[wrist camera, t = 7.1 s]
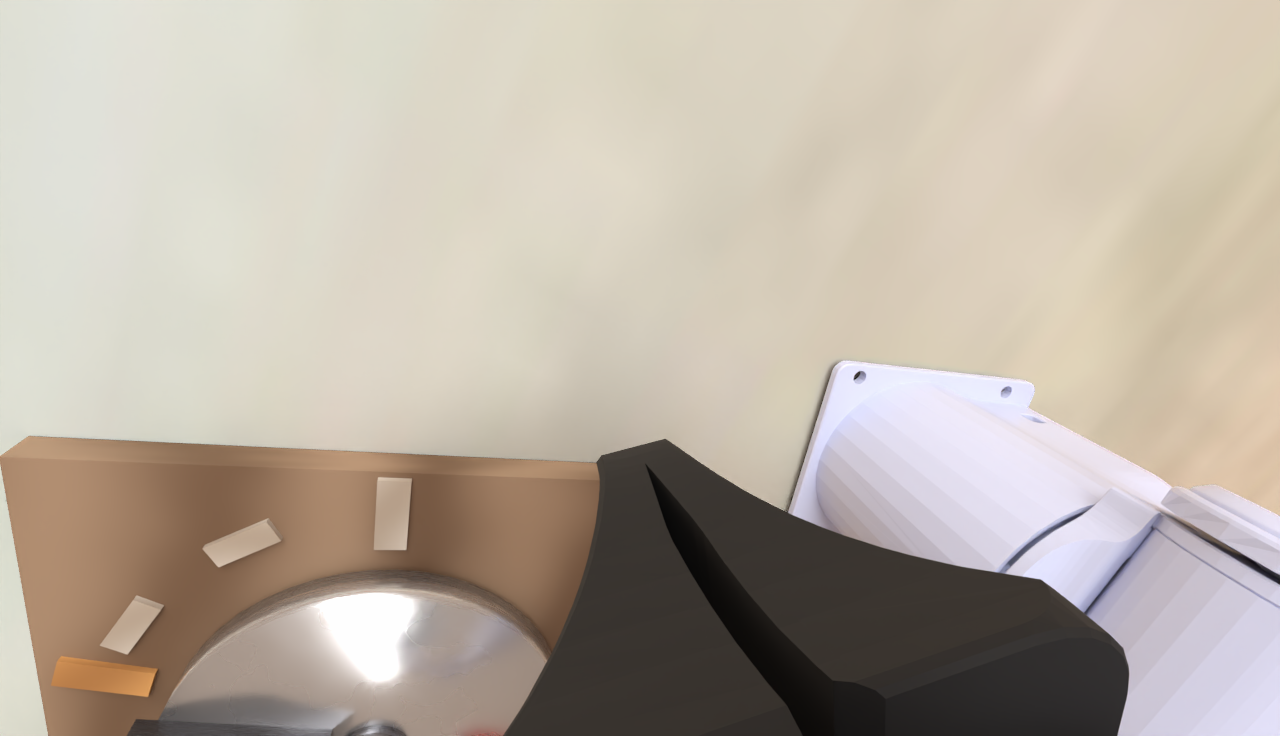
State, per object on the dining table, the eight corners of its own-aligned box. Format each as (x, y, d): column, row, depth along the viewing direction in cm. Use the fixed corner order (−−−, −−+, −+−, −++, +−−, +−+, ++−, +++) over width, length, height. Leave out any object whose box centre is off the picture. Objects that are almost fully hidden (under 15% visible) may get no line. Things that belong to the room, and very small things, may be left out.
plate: (680, 467, 23) (692, 486, 22) (595, 826, 30) (600, 857, 29) (28, 436, 18) (-7, 460, 16) (99, 888, 24) (78, 931, 23)
